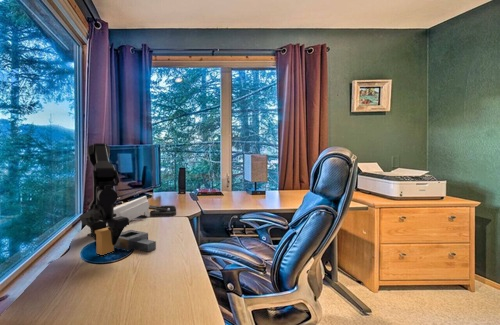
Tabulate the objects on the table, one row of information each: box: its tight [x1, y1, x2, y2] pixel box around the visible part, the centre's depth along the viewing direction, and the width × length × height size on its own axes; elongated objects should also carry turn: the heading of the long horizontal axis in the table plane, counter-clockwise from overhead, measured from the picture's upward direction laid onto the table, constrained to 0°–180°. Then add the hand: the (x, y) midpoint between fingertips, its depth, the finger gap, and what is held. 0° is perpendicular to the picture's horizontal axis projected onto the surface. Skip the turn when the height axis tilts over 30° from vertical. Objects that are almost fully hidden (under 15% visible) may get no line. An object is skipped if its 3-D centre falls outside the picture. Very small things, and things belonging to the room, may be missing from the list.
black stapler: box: [149, 204, 177, 217], centre depth 167 cm, size 9×7×25 cm
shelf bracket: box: [106, 195, 151, 225], centre depth 151 cm, size 6×25×13 cm, turn 148°
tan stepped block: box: [95, 226, 115, 256], centre depth 104 cm, size 3×6×9 cm, turn 154°
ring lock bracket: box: [106, 226, 157, 253], centre depth 114 cm, size 28×11×6 cm, turn 64°
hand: (105, 242), depth 104 cm, fingers open, 9 cm apart
